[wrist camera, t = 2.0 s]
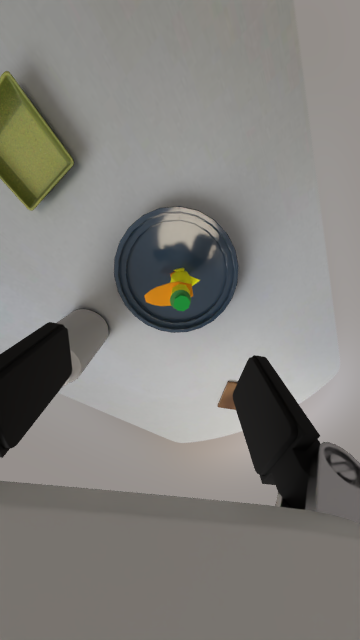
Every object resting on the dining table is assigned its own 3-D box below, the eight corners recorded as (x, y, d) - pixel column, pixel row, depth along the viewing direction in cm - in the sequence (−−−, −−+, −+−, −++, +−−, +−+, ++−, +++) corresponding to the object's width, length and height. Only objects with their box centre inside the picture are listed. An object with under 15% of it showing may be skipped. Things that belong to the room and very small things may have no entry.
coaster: (262, 386, 38) (263, 388, 38) (249, 410, 41) (250, 411, 41) (227, 381, 37) (228, 382, 37) (217, 405, 41) (217, 407, 41)
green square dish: (41, 214, 24) (30, 212, 22) (-19, 145, 21) (-39, 136, 19) (84, 168, 22) (75, 162, 20) (23, 83, 19) (5, 67, 17)
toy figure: (158, 291, 28) (142, 326, 17) (152, 269, 27) (132, 292, 16) (199, 284, 28) (209, 316, 17) (196, 261, 26) (205, 280, 15)
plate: (251, 224, 24) (257, 223, 22) (215, 333, 32) (217, 340, 30) (121, 195, 23) (115, 191, 21) (117, 316, 31) (112, 322, 29)
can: (102, 304, 30) (57, 343, 19) (116, 340, 33) (83, 391, 22) (62, 310, 31) (-4, 351, 20) (79, 345, 34) (30, 396, 23)
